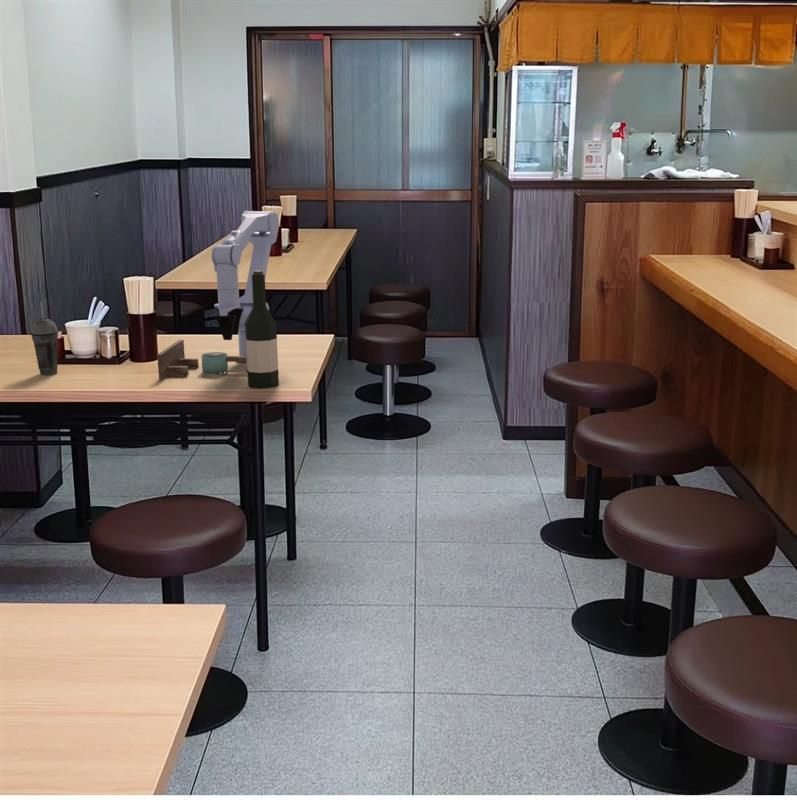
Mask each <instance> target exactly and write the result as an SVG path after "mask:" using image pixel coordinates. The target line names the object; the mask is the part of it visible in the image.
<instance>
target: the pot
mask: <svg viewBox="0 0 797 800" xmlns="http://www.w3.org/2000/svg"><path fill="white" fill-rule="evenodd" d="M230 362H233V363H237V362H238V363H247V357H246V356H239V355H237V356H236V355H235V356H234V355H231V356H230V355H228V353H227V352H224V351H209V352H205V353H203V354H201V370H202V374H203V373H205V374H204V375H206V374H219V375H221V374H220V373H224V372H227V371H228V372H229V364H228V363H230ZM228 372H227V373H228Z"/></svg>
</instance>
